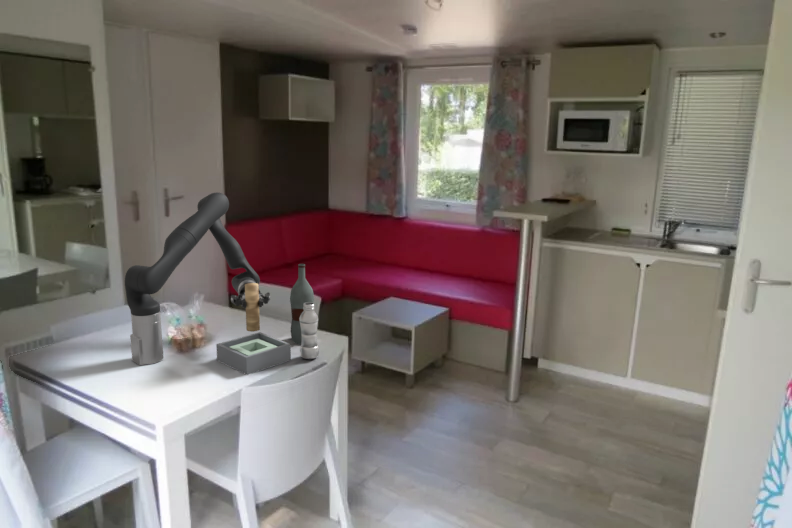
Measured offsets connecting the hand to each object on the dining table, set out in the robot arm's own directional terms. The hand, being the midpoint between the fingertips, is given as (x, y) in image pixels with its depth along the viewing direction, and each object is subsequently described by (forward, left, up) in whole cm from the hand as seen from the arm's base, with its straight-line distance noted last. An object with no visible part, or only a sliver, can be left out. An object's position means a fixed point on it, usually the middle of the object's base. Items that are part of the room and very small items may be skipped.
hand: (253, 304), depth 191 cm
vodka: (+26, +6, -21) cm, 34 cm away
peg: (+1, +2, -10) cm, 10 cm away
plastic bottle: (+16, -10, -21) cm, 28 cm away
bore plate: (+1, +2, -21) cm, 21 cm away
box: (+1, +2, -21) cm, 21 cm away
